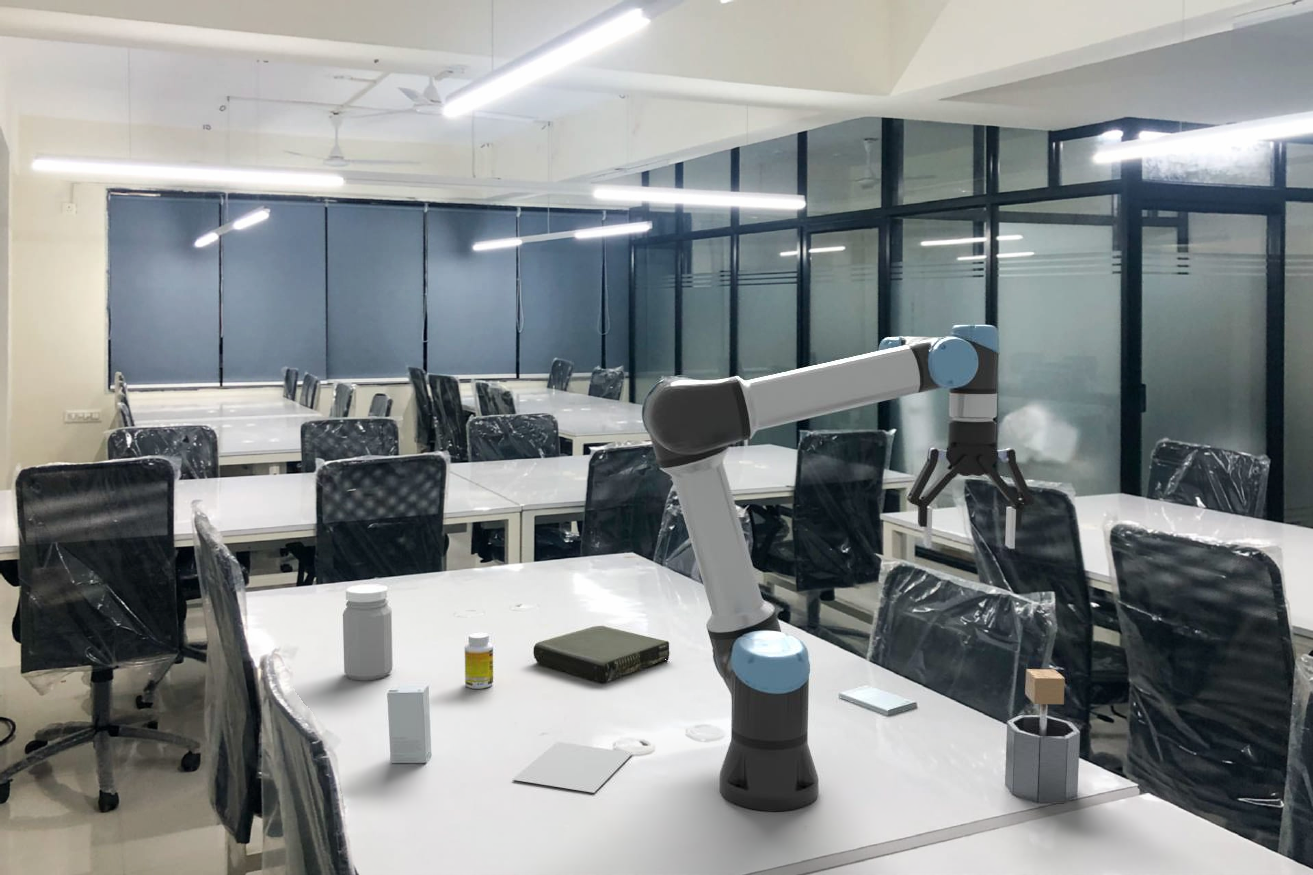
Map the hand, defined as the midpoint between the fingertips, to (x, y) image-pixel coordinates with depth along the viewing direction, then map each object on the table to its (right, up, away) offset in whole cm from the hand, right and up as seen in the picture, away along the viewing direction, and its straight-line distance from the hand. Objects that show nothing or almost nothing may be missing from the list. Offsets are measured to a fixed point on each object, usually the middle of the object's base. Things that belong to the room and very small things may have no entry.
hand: (968, 546), depth 179 cm
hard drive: (-10, -33, +27) cm, 44 cm away
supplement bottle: (-87, -31, +36) cm, 99 cm away
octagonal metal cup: (+7, -36, -13) cm, 39 cm away
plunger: (+7, -34, -13) cm, 37 cm away
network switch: (-64, -31, +51) cm, 87 cm away
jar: (-111, -31, +42) cm, 123 cm away
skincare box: (-92, -35, -2) cm, 99 cm away
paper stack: (-68, -35, 0) cm, 77 cm away
